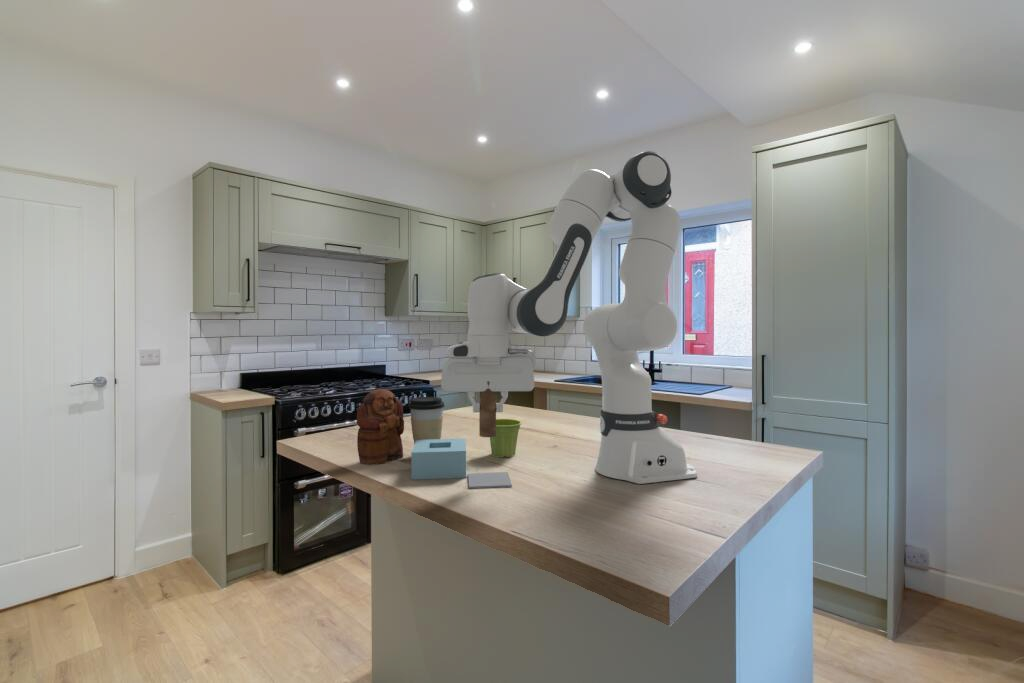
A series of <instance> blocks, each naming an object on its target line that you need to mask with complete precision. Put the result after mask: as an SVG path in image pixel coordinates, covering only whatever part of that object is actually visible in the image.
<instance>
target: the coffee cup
mask: <svg viewBox="0 0 1024 683" xmlns="http://www.w3.org/2000/svg"><path fill="white" fill-rule="evenodd" d="M407 405H408V406H407V409H409V410H410V425H411V433H412V440H413V443H414V444H413V446H414V445H415V442H416V440H428V439H442V431H443V429H442V428H443V418H444V416H443V413H444V408H445V407H446V405H445V402H443V400H442V398H441V397H438V396H421V397H419V396H418V397H413V398H411V399H410V402H409V403H408V404H407Z"/></svg>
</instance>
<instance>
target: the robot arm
mask: <svg viewBox="0 0 1024 683" xmlns="http://www.w3.org/2000/svg"><path fill="white" fill-rule="evenodd" d="M671 180H672V175H671V169H670V166H669V163H668V161H667V160H666V158H665V157H664V155H661V154H660V153H658V152H655V151H650V150H649V151H643V152H640V153H637V154H635V155H633V156H632V157H631V158H629V159H628V160H627V161H626V163H625V164H624V165H622V166H621V167H620V168H619V169H618V171H616V172H615V174H614V175H608V174H606V173H605V172H604V171H601V170H600V169H591V168H590V169H586V170H583V171H582V172H581V173H579V174H578V175H577V177H576V178H575V179H574V180H573V181H572V182H571V184H570V185H569V187H567V189H566V190H565V192H564V193H563V194H562V196H561V198H560V200H559V202H558V203H557V205H556V206H555V209H554V211H553V213H552V216H551V219H550V221H549V224H548V233H549V237H550V238H551V240H552V242H553V243H554V244H555V245H556V250H555V253H554V256H553V257H552V259H551V261H550V263H549V265H548V267H547V270H546V272H545V274H544V276H543V278H542V279H541V281H539V283H537V284H536V285H535V286H533V287H532V288H529V289H528V288H525V287H523V286H521V285H520V284H517V283H515V282H514V281H512V280H511V279H510V278H508V277H507V275H506V274H504V273H502V272H497V273H496V272H494V273H488V274H487V273H486V274H484V275H479V276H477V277H475V278H473V279H472V280H471V282H470V285H469V289H468V295H467V298H468V299H467V316H468V317H467V318H468V321H469V326H468V331H467V341H461V342H458V343H457V344H453V345H451V346H449V347H448V348H447V350H446V354H447V356H448V358H446V360H445V361H444V364H443V367H442V370H441V379H440V380H441V381H440V388H441V390H442V391H443V392H445V393H457V392H458V393H461V392H462V393H463V392H464V393H465V392H467V397H468V400H469V401H470V403H471V405H472V412H473V413H480V402H479V403H477V402H476V401H475V399H474V397H475V392H476V393H477V392H478V393H480V392H483V391H486V389H488V388H489V389H490V390H491V391H496V392H500V396H501V399H500V400H499V402H496V413H503V412H504V404H505V402H506V401H507V399H508V397H509V392H532V391H533V389H534V388H535V375H534V374H535V372H534V368H535V366H536V354H535V353H534V352H533V351H532V350H529V348H509V332H510V331H514V332H515V333H520V334H527V335H535V336H538V337H548V336H552V335H554V334H555V333H557V332H558V331H560V329H561V328H562V327H563V325H564V324H565V322H566V319H567V316H568V311H569V309H568V308H569V300H570V296H571V293H572V290H573V288H574V286H575V284H576V281H577V279H578V277H579V275H580V272H581V271H582V268H583V265H584V263H585V261H586V259H587V257H588V254H589V252H590V248H591V245H592V242H593V241H594V239H595V237H596V236H597V234H598V232H599V230H600V227H601V226H602V224H603V222H604V220H605V219H606V217H607V218H608V219H610V220H612V221H614V222H627V221H630V220H631V221H630V222H631V230H630V231H631V232H630V235H629V237H628V240H627V243H626V246H625V250H624V253H623V256H622V260H621V263H620V265H619V269H618V277H619V279H620V281H621V282H622V284H624V297H623V300H622V301H621V302H617V303H616V302H615V303H606V304H605V303H604V304H602V305H600V306H597V307H595V308H593V309H591V310H590V311H588V312H587V313H586V315H585V317H584V319H583V323H582V324H583V325H582V330H583V333H584V336H585V338H586V340H587V341H588V342H589V344H590V345H591V346H592V348H593V350H594V352H595V356H596V359H597V362H598V365H599V370H600V376H601V394H602V397H601V400H602V402H601V403H602V406H601V407H602V408H601V409H600V414H599V415H600V416H599V431H600V434H601V436H600V445H599V452H598V457H597V461H596V465H595V467H594V469H595V471H596V472H597V473H598V474H600V475H602V476H604V477H608V478H611V479H615V480H623V481H628V482H631V483H634V484H639V485H641V484H644V485H645V484H651V483H659V482H668V481H676V480H677V481H679V480H686V479H687V480H688V479H694V478H697V477H698V472H697V470H696V468H695V466H693V465H692V464H690V463H688V462H687V457H686V452H685V449H684V447H683V445H682V444H681V443H680V442H678V441H677V440H676V439H675V438H673V437H672V436H671V435H670V434H668V433H667V431H665V430H664V429H662V428H661V427H660V424H662V425H665V424H667V422H668V417H667V416H666V415H665V414H662V413H657V412H655V411H653V410H652V378H651V375H650V374H649V372H648V371H647V370H646V369H645V368H644V367H643V365H642V363H641V360H640V359H639V355H638V352H644V353H646V352H651V351H657V350H660V349H664V348H666V347H668V346H670V345H671V344H672V342H673V341H674V339H675V338H676V335H677V331H678V321H677V318H676V315H675V312H674V310H673V309H672V308H671V307H670V306H669V303H668V300H667V282H668V278H669V274H670V270H671V267H672V264H673V260H674V257H675V253H676V249H677V246H678V240H679V233H680V226H681V225H680V223H681V217H680V214H679V212H678V211H677V209H676V208H675V207H674V206H672V205H670V204H668V203H667V202H668V201H669V200H670V198H672V187H671V182H672V181H671ZM487 381H490V383H489V387H488V384H487Z"/></svg>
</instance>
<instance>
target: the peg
mask: <svg viewBox="0 0 1024 683" xmlns="http://www.w3.org/2000/svg"><path fill="white" fill-rule="evenodd" d="M489 383H490V381H487V384H488V387H489ZM479 403H480V412H479V418H478V419H479V420H478V421H479V423H478V424H479V431H478V433H479V437H481V438H490V437H494V436H496V419H497V412H496V403H497V391H491V390H490V389H489V388H488V389H486V391H483V392H479Z"/></svg>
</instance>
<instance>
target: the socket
mask: <svg viewBox="0 0 1024 683" xmlns="http://www.w3.org/2000/svg"><path fill="white" fill-rule="evenodd" d="M466 439H467V438H440V439H428V440H416V442H415V445H414V444H413V448H412V450H411V452H410V453H411V454H410V455H411V480H431V479H434V480H436V479H438V480H439V479H460V478H461V479H463V478H467V445H466V444H467V443H466Z"/></svg>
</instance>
